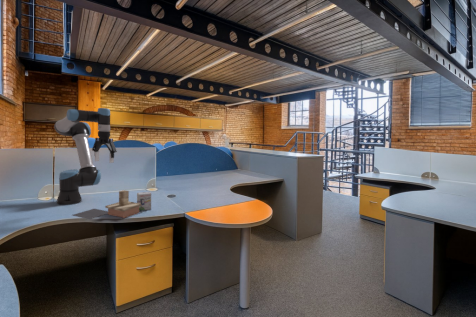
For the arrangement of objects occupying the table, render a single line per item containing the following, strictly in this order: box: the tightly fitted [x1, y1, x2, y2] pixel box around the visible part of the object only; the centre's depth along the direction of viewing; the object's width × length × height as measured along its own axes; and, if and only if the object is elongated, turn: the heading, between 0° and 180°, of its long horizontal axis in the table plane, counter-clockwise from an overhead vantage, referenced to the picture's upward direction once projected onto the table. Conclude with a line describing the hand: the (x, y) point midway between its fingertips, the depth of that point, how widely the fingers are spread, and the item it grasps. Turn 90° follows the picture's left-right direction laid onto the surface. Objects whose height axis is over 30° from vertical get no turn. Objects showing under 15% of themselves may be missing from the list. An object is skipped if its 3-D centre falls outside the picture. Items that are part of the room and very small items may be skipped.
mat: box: [72, 208, 108, 220], centre depth 162 cm, size 16×16×1 cm
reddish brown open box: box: [107, 206, 140, 219], centre depth 165 cm, size 13×13×5 cm
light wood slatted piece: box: [104, 189, 141, 211], centre depth 164 cm, size 15×15×10 cm
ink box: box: [136, 191, 152, 211], centre depth 176 cm, size 9×5×12 cm, turn 126°
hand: (104, 161), depth 177 cm, fingers open, 13 cm apart
